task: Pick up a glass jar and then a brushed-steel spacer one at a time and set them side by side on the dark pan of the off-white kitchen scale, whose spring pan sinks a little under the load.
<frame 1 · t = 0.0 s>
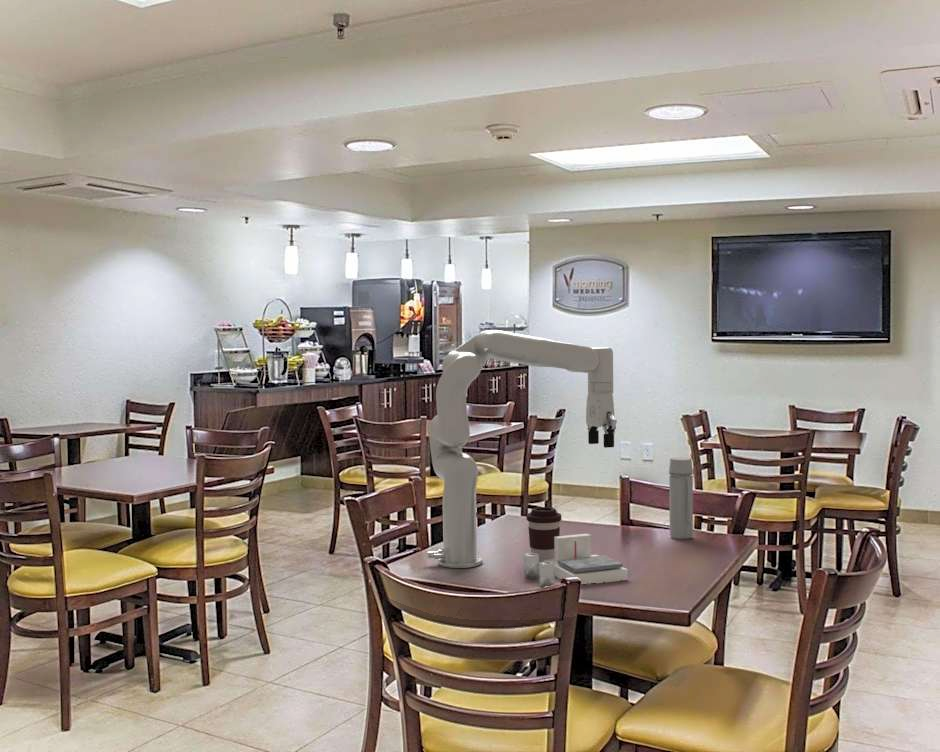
hand: (601, 445, 272), 31 cm above the table, fingers open, 9 cm apart
spacer b: (547, 586, 234), on the table
glass jar: (531, 576, 243), on the table
coffee cup: (544, 561, 260), on the table
scale body: (585, 575, 244), on the table
pan: (589, 563, 242), point 4 cm above the table, slide at -0.8 cm
water bottle: (682, 538, 286), on the table
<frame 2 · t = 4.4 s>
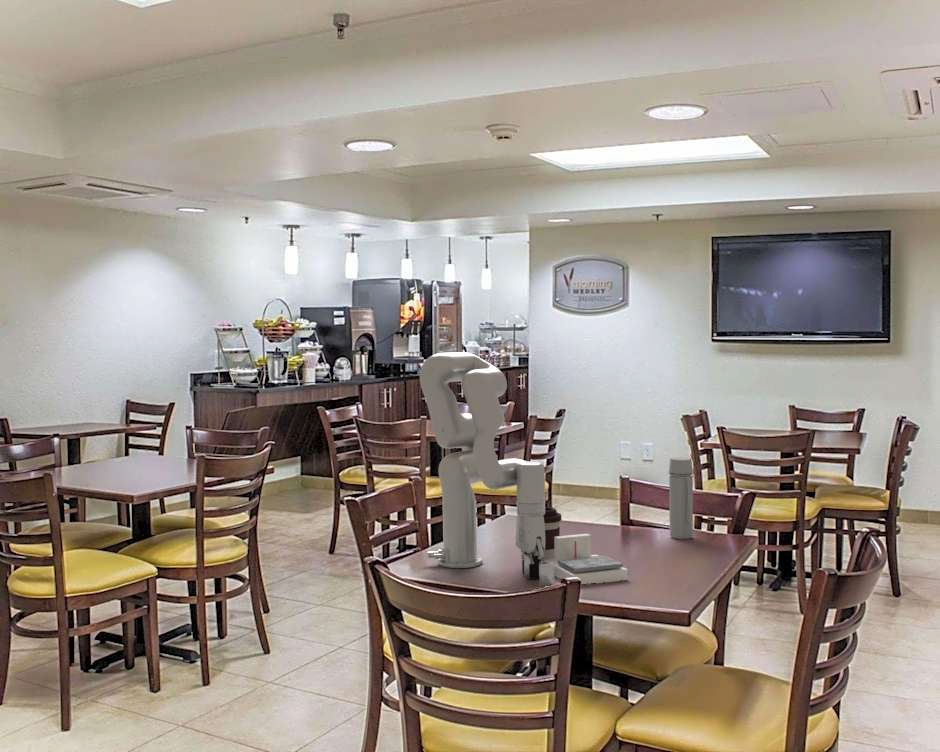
hand: (531, 575, 243), 0 cm above the table, fingers closed on glass jar, 4 cm apart
glass jar: (531, 576, 243), on the table, touching gripper
everything else where it was.
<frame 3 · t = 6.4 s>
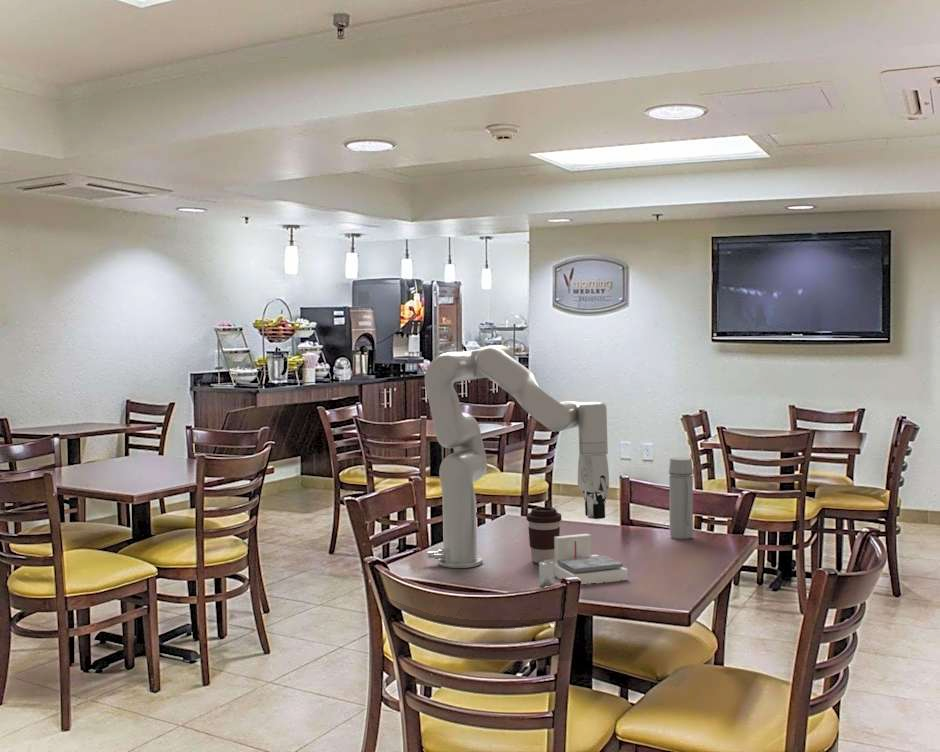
hand: (595, 516, 242), 16 cm above the table, fingers closed on glass jar, 4 cm apart
glass jar: (595, 517, 242), point 16 cm above the table, touching gripper
everything else where it was.
when the fingers open (7 cm above the table, at t = 8.5 s): glass jar drops 2 cm, resting on pan.
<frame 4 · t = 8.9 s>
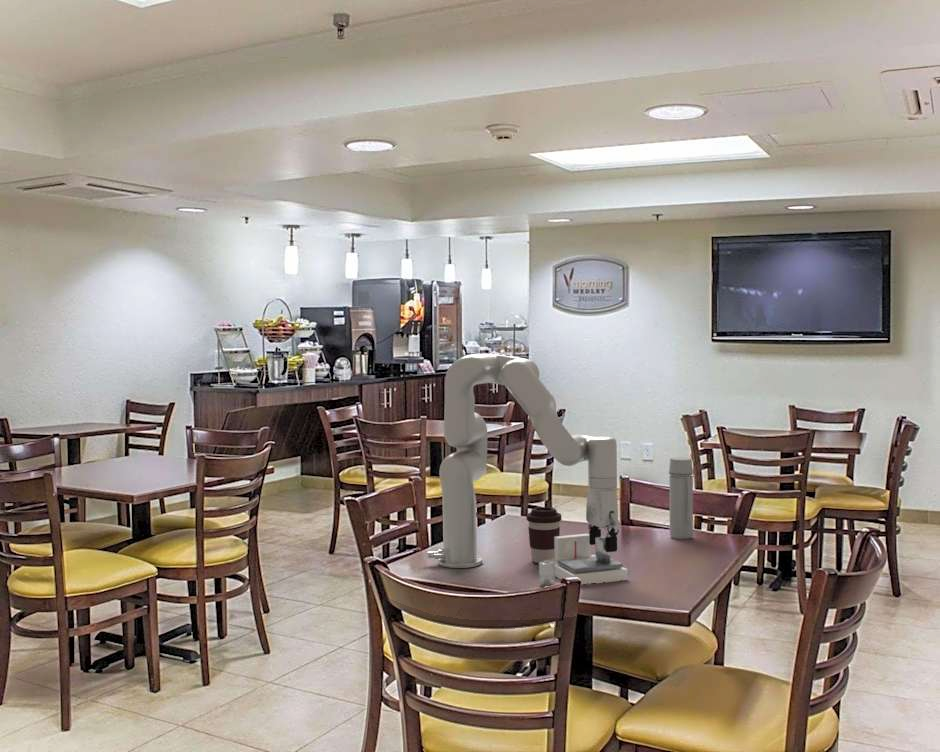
hand: (603, 547, 243), 8 cm above the table, fingers open, 8 cm apart
glass jar: (603, 560, 243), point 4 cm above the table, touching pan
pan: (589, 563, 242), point 4 cm above the table, slide at -0.9 cm, touching glass jar
everything else where it was.
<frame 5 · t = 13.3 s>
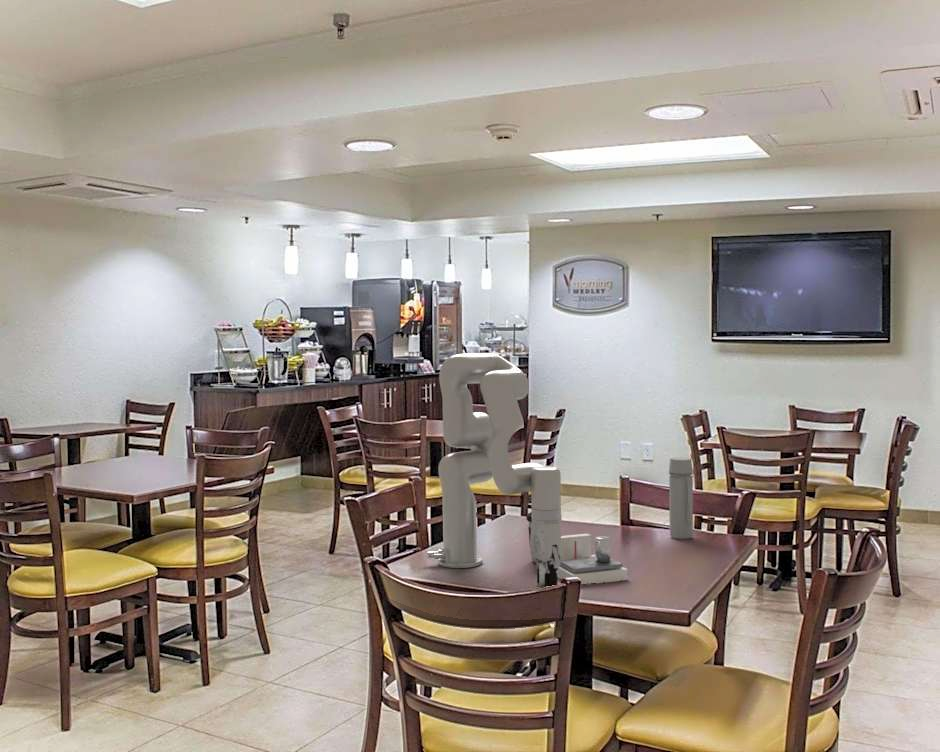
hand: (547, 584, 234), 0 cm above the table, fingers closed on spacer b, 4 cm apart
spacer b: (547, 586, 234), on the table, touching gripper
everything else where it was.
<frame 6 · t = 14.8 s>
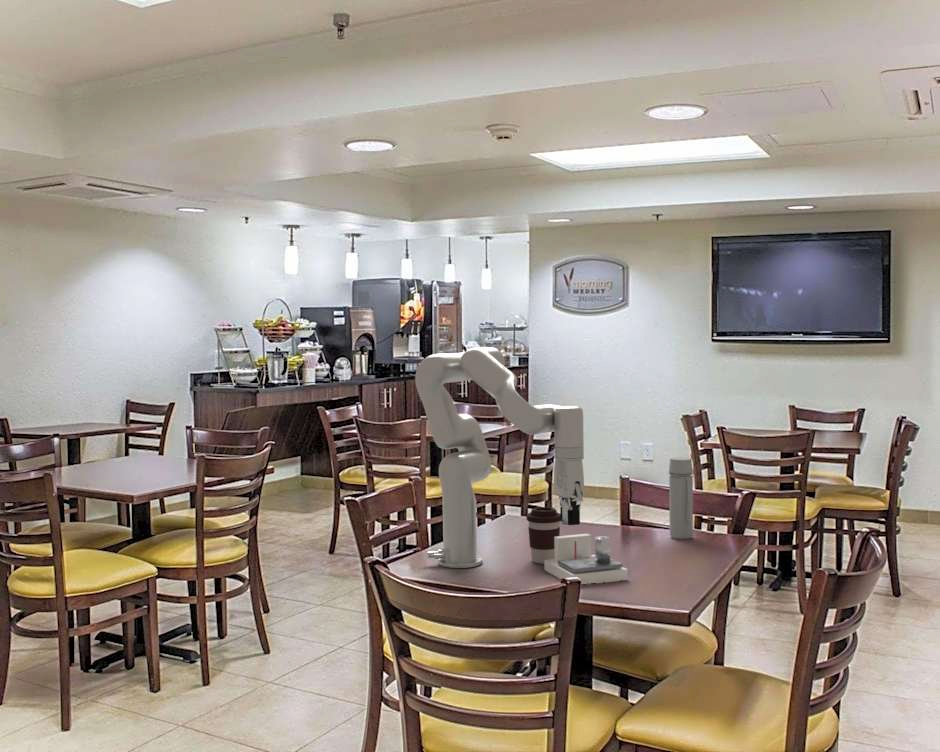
hand: (570, 522, 238), 15 cm above the table, fingers closed on spacer b, 4 cm apart
spacer b: (570, 523, 238), point 15 cm above the table, touching gripper
everything else where it was.
when the fingers open (7 cm above the table, at t = 16.8 s): spacer b drops 2 cm, resting on pan.
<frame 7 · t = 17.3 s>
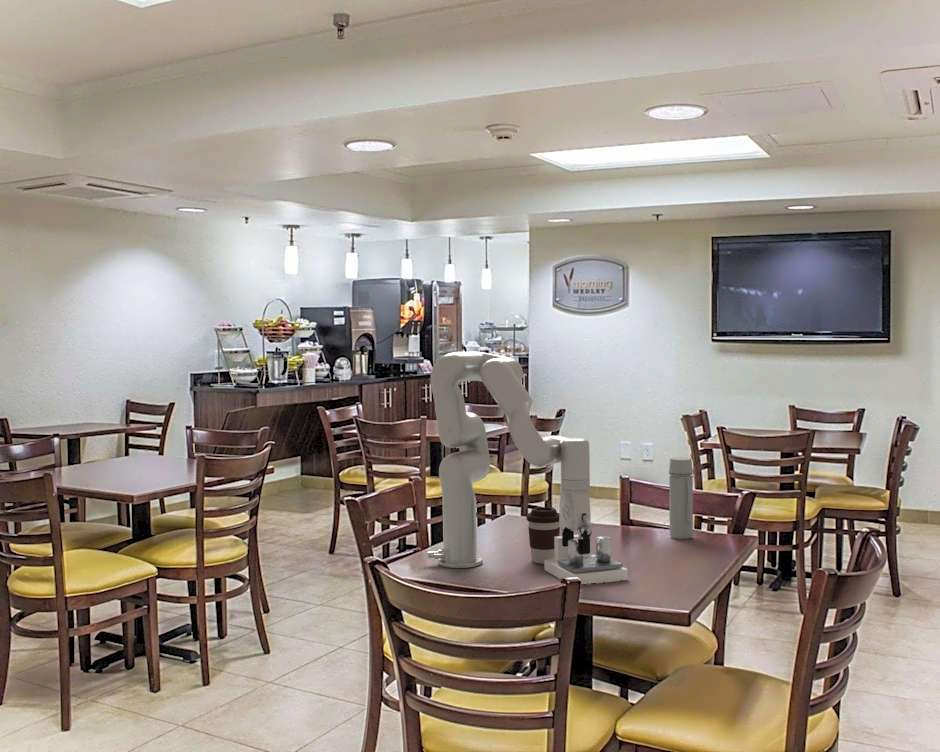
hand: (576, 549, 240), 8 cm above the table, fingers open, 9 cm apart
spacer b: (575, 563, 240), point 4 cm above the table, touching pan
pan: (589, 563, 242), point 4 cm above the table, slide at -0.9 cm, touching glass jar, spacer b
everything else where it was.
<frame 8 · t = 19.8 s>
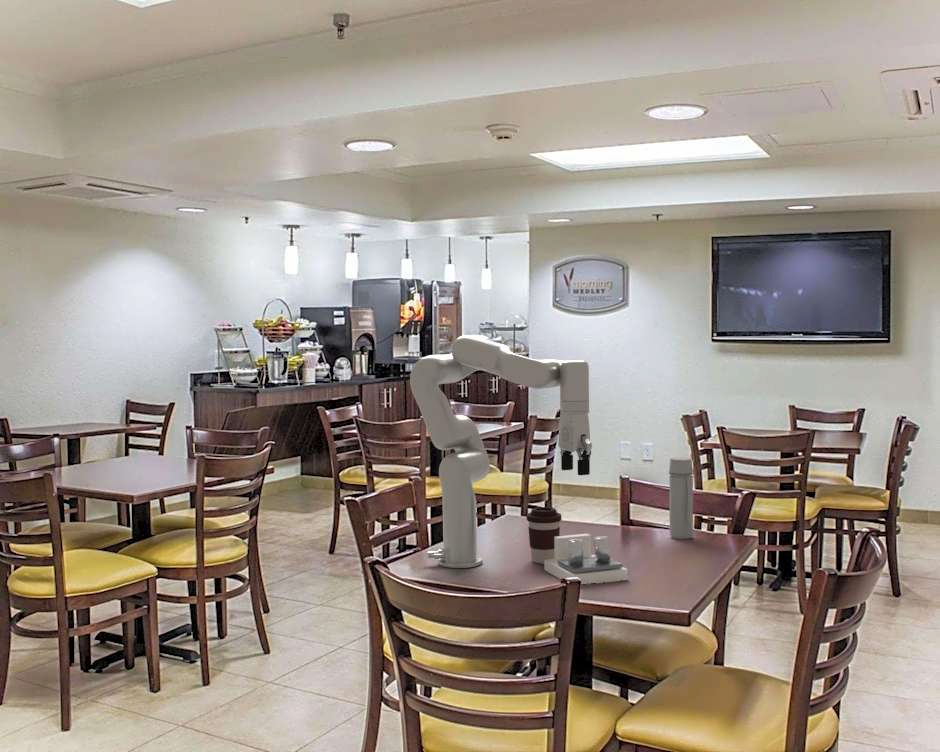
hand: (575, 472, 239), 28 cm above the table, fingers open, 9 cm apart
nothing on the table moved.
at the end: glass jar inside the target area on the pan (3.9 cm from its centre), point 5.1 cm above the pan's base; spacer b inside the target area on the pan (4.0 cm from its centre), point 5.0 cm above the pan's base; spacer b tilted 1° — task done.
